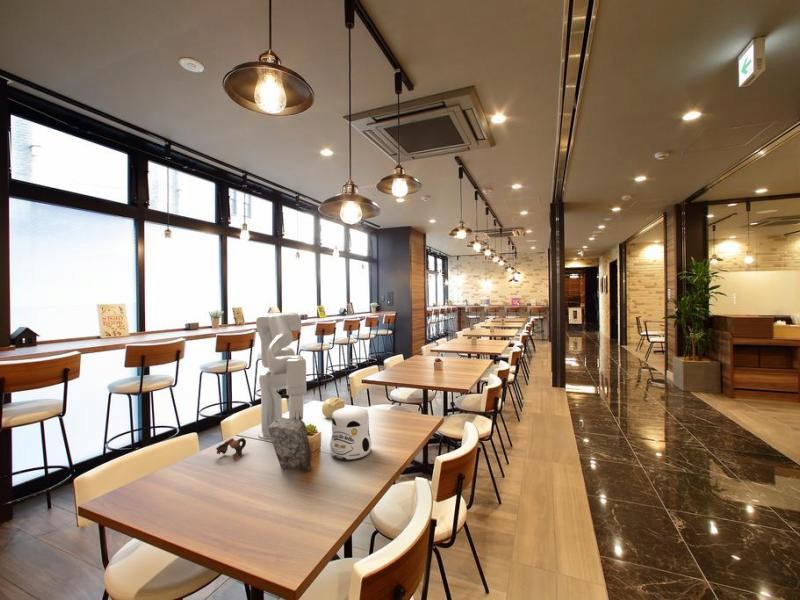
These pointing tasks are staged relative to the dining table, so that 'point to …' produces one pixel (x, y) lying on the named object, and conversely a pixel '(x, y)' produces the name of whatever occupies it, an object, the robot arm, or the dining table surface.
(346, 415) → the milk container
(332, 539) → the dining table surface
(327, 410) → the sculpture
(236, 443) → the brown animal figurine
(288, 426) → the stone block
